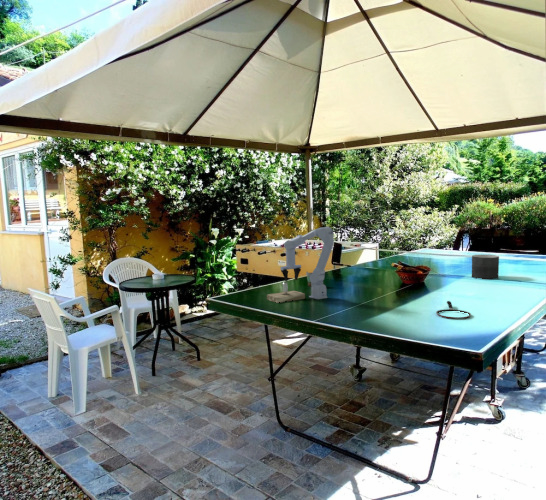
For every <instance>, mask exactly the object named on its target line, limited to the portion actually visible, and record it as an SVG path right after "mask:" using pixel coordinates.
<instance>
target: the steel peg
mask: <svg viewBox="0 0 546 500" xmlns="http://www.w3.org/2000/svg"><path fill="white" fill-rule="evenodd" d="M288 291H289V289H288V281H285V282H282V292H283V295H288Z"/></svg>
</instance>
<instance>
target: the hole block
mask: <svg viewBox="0 0 546 500" xmlns="http://www.w3.org/2000/svg"><path fill="white" fill-rule="evenodd" d="M304 299H306V293H303V292H300V291H296V290H288V295H283V291H282V292H275V293H269V294H266V300H268V301H270V302H273V303H275V302H276V304H279V302H280V303H286V302H285V301H287V302H293V301H298V300H304ZM292 300H293V301H292Z"/></svg>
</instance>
